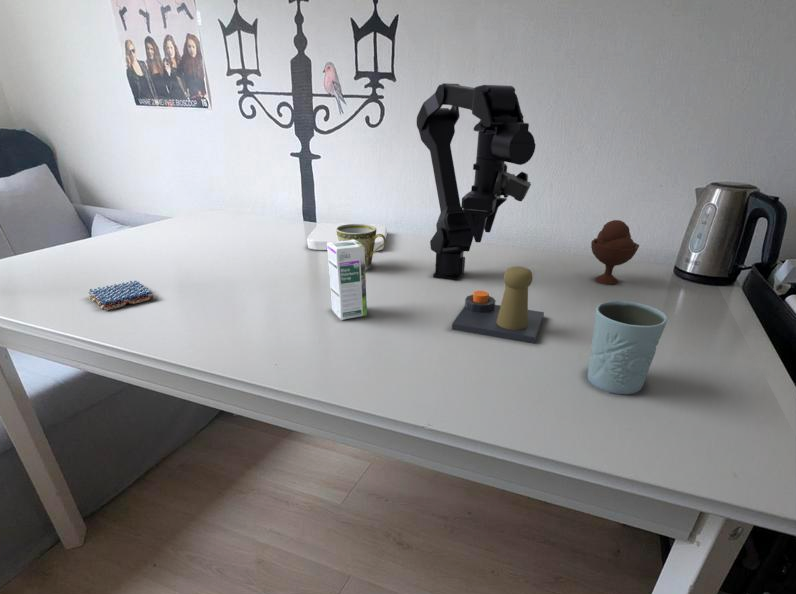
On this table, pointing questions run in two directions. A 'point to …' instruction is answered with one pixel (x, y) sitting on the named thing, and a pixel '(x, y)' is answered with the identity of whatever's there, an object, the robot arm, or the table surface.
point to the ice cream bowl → (613, 248)
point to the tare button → (480, 296)
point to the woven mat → (120, 295)
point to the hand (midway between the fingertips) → (483, 237)
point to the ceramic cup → (361, 238)
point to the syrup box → (347, 278)
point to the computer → (329, 234)
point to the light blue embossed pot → (624, 345)
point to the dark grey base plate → (494, 321)
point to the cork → (515, 299)
